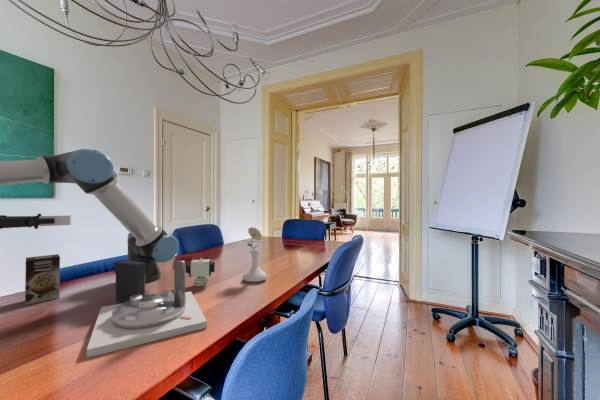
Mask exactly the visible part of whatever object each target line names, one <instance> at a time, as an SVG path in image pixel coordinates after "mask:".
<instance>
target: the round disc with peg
mask: <svg viewBox="0 0 600 400" xmlns="http://www.w3.org/2000/svg"><path fill="white" fill-rule="evenodd" d="M173 275H174V281H173V283H174V286H173V288H174V291H173V290H171V289H170V290H169V289H168V290H167V289H166V290H162V291H161V292H160V293H151V294H147V295H146V294H145V296H142V295H140V294H137V295H134V296H131V297H130V300H128V301H126V302H124V303H119V304H120V305H118V306H113V308H112V323H113V325H115V326H116V327H119V328H124V329H139V328H147V327H152V326H156V325H160V324H163V323H166V322H168V321H171V320H173V319H175V318H177V317H178V316H180V315H181V314H182V313H183V312H184V311H185V309H186V295H185V292H186V259H185V260H183V259H178V260H175V261H174V274H173Z"/></svg>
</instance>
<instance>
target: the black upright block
mask: <svg viewBox="0 0 600 400" xmlns="http://www.w3.org/2000/svg"><path fill="white" fill-rule="evenodd" d="M113 265H114V267H113V268H114V269H113V271H114V274H115V302H117V303H119V304H122V303H124V302H126V301H128V300H130V297H131V296H134V295H137V294H140V295H142V296H145V295H146V283H145V263H144V262H138V261H129V260H128V259H121V260H118V261H114V264H113Z"/></svg>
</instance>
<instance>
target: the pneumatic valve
mask: <svg viewBox="0 0 600 400" xmlns="http://www.w3.org/2000/svg"><path fill="white" fill-rule="evenodd" d="M215 271H216V261H213V259H212V258H210V259H209V258H208V259H207V258H206V259H204V258H202V257H199V259H191V260H190V261H189V262H187V263H185V274H187V275H188V277H189V278H190V277H191V278H192V277H193V278H194V277H196V278H194V280H193V284H194V285H195V287H204V286H206V285H207V284H208V278H207V277H210V276H212V273H215Z"/></svg>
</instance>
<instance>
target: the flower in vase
mask: <svg viewBox="0 0 600 400" xmlns="http://www.w3.org/2000/svg"><path fill="white" fill-rule="evenodd" d="M247 232H248V234H249V236H250V237H251V241H250V242H247V245H246V246H248V247H250V248H252V249H251V250H249V253H250V255H251V259H252V265H251V267H250V268H249V269H248V270H246V271H245V272H244V273H243V275H242V280H244V281H246V282H249V283H257V282H262V281H265V280H266V279H267V277H268V275H267V273H266V272H265V271H263V270H262V269H261V268H259V266H258V257H259V255H260V252H261V250H259V249H255V248H257V247H258V246H259V244H258V245H255V246H253V241H254V240H255V241H260V240H262V237H263V236H262V235H263V234H262V233H261V231H260V230H259V229H258V228H257V227H253V226H251V227H248V230H247Z"/></svg>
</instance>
